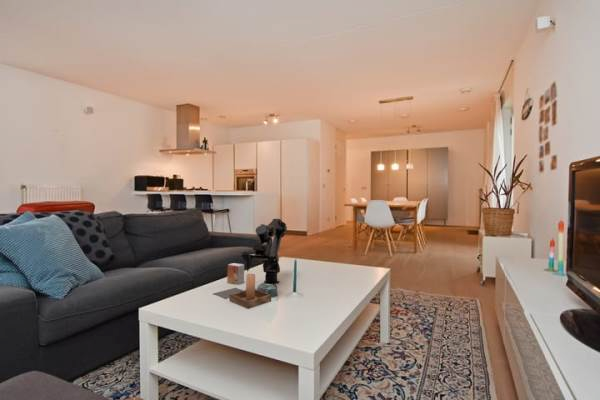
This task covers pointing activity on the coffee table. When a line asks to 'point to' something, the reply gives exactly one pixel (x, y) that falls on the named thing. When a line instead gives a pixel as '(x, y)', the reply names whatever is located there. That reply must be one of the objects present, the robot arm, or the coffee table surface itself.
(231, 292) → the mat
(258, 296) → the crate
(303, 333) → the coffee table surface
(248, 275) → the tan cylinder
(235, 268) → the small box
